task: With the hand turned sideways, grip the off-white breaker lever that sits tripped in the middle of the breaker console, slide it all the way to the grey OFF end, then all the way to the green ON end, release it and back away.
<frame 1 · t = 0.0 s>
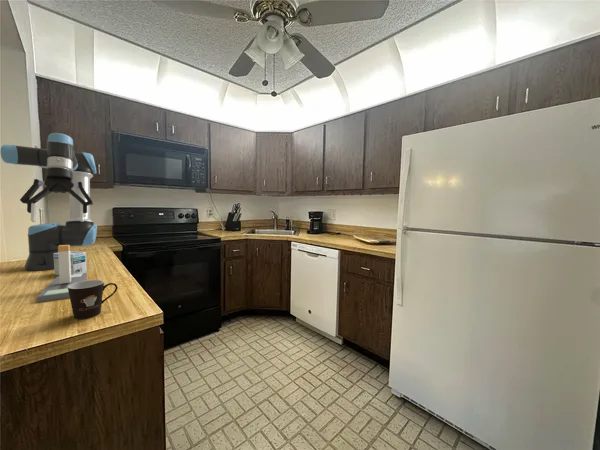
hand: (58, 221, 94), 28 cm above the counter, tool tilted 20°, fingers open, 13 cm apart
breaker console: (65, 288, 99), on the counter
breaker lever: (64, 264, 98), point 10 cm above the counter, slide at 7.0 cm
light bulb box: (71, 274, 118), on the counter
coffee mug: (93, 314, 78), on the counter
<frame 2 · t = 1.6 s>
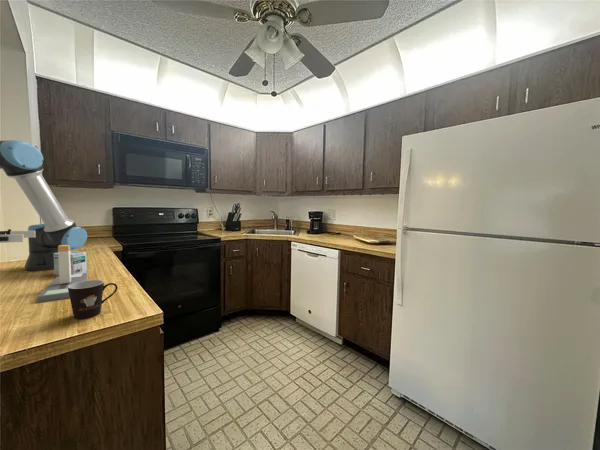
hand: (29, 235, 92), 22 cm above the counter, tool horizontal, fingers open, 13 cm apart
nothing on the counter moved.
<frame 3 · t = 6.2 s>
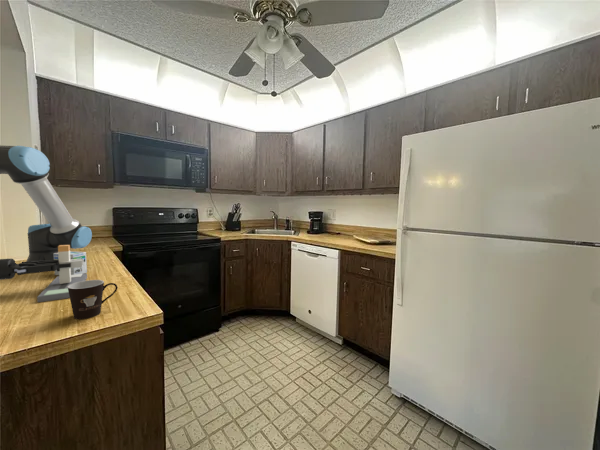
hand: (82, 262, 101), 10 cm above the counter, tool horizontal, fingers closed on breaker lever, 3 cm apart
breaker lever: (64, 264, 98), point 10 cm above the counter, slide at 7.0 cm, touching gripper
everything else where it was.
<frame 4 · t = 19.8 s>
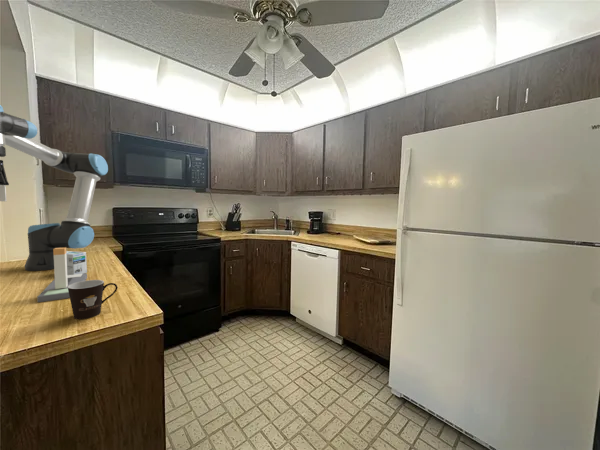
breaker lever: (60, 267, 92), point 10 cm above the counter, slide at 14.0 cm
everything else where it was.
at the end: breaker lever slide at 14.0 cm; the gripper is holding nothing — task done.
